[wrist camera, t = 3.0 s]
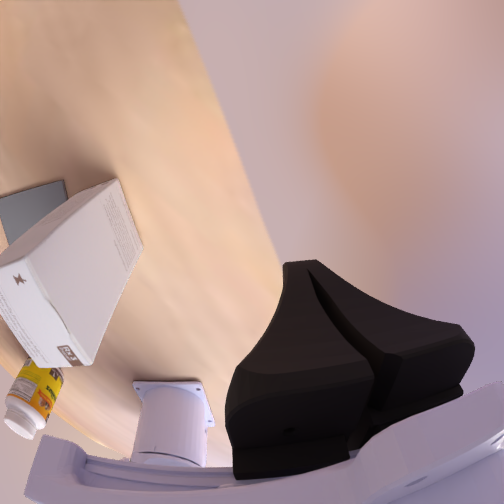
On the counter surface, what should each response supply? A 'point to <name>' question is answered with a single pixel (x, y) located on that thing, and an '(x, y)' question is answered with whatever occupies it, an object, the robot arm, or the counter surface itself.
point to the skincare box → (69, 276)
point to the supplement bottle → (32, 398)
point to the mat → (29, 208)
